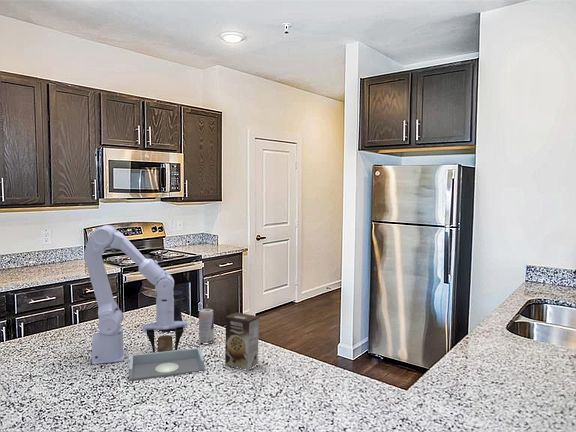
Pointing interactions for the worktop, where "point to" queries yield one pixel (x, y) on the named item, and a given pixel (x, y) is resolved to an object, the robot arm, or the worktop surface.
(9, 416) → the worktop surface
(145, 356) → the grey tray
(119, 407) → the worktop surface
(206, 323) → the energy drink
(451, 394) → the worktop surface
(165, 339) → the brown cylinder
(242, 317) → the coffee box
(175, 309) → the storage jar
